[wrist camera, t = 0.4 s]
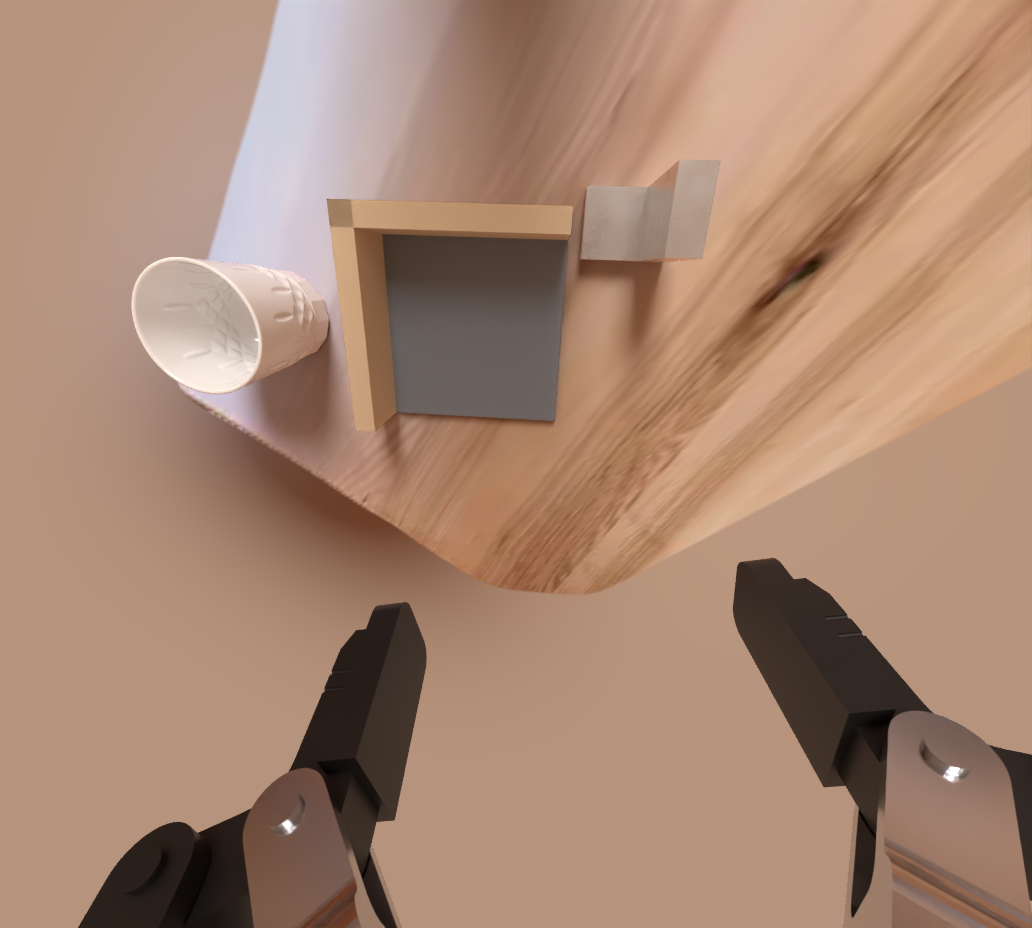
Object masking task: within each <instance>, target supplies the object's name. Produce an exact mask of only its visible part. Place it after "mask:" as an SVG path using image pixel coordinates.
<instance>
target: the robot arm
mask: <svg viewBox="0 0 1032 928" xmlns="http://www.w3.org/2000/svg"><path fill="white" fill-rule="evenodd" d="M733 614H734V619H735V623H736V626H737V629H738V632H739V634H740V636H741V638H742V640H743V641H744V643H745V645H746V647H747V649H748V650H749V652H750V654H751V656H752V658H753V659H754V661H755V663H756V665H757V667H758V668H759V670H760V672H761V674H762V676H763V678H764V679H765V681H766V683H767V685H768V687H769V688H770V690H771V692H772V694H773V696H774V698H775V699H776V701H777V703H778V705H779V706H780V709H781V710H782V712H783V714H784V716H785V718H786V719H787V721H788V723H789V725H790V727H791V728H792V730H793V732H794V734H795V735H796V738H797V739H798V741H799V743H800V745H801V747H802V749H803V750H804V752H805V754H806V755H807V758H808V759H809V761H810V763H811V765H812V767H813V768H814V770H815V772H816V774H817V776H818V777H819V779H820V781H821V783H822V785H823V787H834V786H846V787H847V789H848V791H849V792H850V794H851V796H852V798H853V799H854V801H855V803H856V805H855V808H854V816H853V827H852V839H851V850H850V861H849V872H848V883H847V895H846V906H845V916H844V924H843V928H1032V912H1031V906H1030V900H1031V901H1032V755H1030V754H1026V753H1021V752H1015V751H1011V750H1006V749H1002V748H997V747H994V746H991V745H988V744H986V743H985V742H984V741H983V740H982V739H981V738H980V737H978V736H977V735H976V734H974V733H973V732H971V731H970V730H968V729H967V728H965V727H964V726H962V725H960V724H958V723H956V722H954V721H952V720H950V719H948V718H946V717H943V716H940V715H937V714H934V713H933V712H932V711H930V710H929V709H928V708H927V706H926V705H925V704H924V703H923V702H922V701H921V700H920V699H919V698H918V696H917V695H916V694H915V693H914V692H913V691H912V689H911V688H910V687H909V686H908V685H907V684H906V682H905V681H904V680H903V679H902V678H901V677H900V675H899V674H898V673H897V672H896V671H895V670H894V669H893V667H892V666H891V665H890V664H889V663H888V661H887V660H886V659H885V658H884V657H883V656H882V655H881V653H880V652H879V651H878V650H877V649H876V647H875V646H874V645H873V644H872V643H871V642H870V640H869V639H868V638H867V637H866V636H863V635H862V631H861V630H860V629H859V628H858V626H857V625H856V624H855V623H854V622H853V621H852V620H851V619H849V618H848V617H847V614H846V612H845V611H844V610H843V609H842V608H841V607H840V605H838V603H837V602H836V601H835V600H834V598H833V597H832V596H831V595H830V594H829V593H827V592H826V591H824V590H823V589H821V588H820V587H818V586H817V585H815V584H814V583H812V582H811V581H809V580H807V579H806V578H802V579H793V578H792V577H791V575H790V574H789V573H788V571H787V570H786V569H785V568H784V566H783V565H782V564H781V563H780V562H779V561H778V560H777V559H775V558H770V559H761V560H753V561H745V562H740V563H739V564H738V567H737V575H736V583H735V593H734V603H733ZM425 669H426V647H425V643H424V640H423V637H422V635H421V632H420V629H419V627H418V625H417V622H416V619H415V617H414V614H413V612H412V609H411V607H410V605H409V604H408V603H407V602H403V603H395V604H387V605H379V606H376V607H375V608H374V610H373V612H372V615H371V617H370V620H369V623H368V625H367V628H366V629H364V630H356V631H355V632H354V634H353V635H352V636H351V637H350V638H349V640H348V641H347V642H346V643H345V645H344V646H343V647H342V648H341V649H340V652H339V654H338V657H337V659H336V662H335V664H334V666H333V669H332V675H330V676H329V678H328V681H327V683H326V686H325V692H324V693H322V695H321V698H320V700H319V702H318V705H317V707H316V710H315V712H314V715H313V717H312V719H311V722H310V724H309V726H308V729H307V731H306V734H305V736H304V739H303V741H302V743H301V746H300V748H299V751H298V753H297V756H296V758H295V760H294V762H293V765H292V767H291V768H290V770H289V772H288V773H286V774H284V775H282V776H281V777H279V778H278V779H277V780H275V781H274V782H273V783H272V784H271V785H270V786H269V787H268V788H266V789H265V791H264V792H263V793H262V794H261V795H260V797H259V798H258V799H257V801H256V802H255V804H254V805H253V807H252V808H251V809H249V810H247V811H245V812H243V813H241V814H239V815H237V816H235V817H232V818H230V819H228V820H226V821H223V822H221V823H219V824H217V825H214V826H212V827H210V828H208V829H206V830H204V831H201V832H199V833H197V832H196V831H195V830H193V829H192V828H191V827H190V826H189V825H187V824H186V823H182V822H173V823H169V824H166V825H163V826H161V827H159V828H157V829H155V830H153V831H152V832H151V833H149V834H147V835H146V836H145V837H143V838H142V839H141V840H140V841H138V842H137V843H136V844H135V845H134V846H133V847H132V848H131V849H130V850H129V851H128V852H127V853H126V854H125V855H124V856H123V857H122V858H121V860H120V861H119V862H118V863H117V865H116V866H115V867H114V869H113V870H112V871H111V873H110V875H109V876H108V878H107V879H106V881H105V883H104V885H103V886H102V888H101V890H100V891H99V893H98V895H97V896H96V898H95V900H94V901H93V903H92V905H91V907H90V908H89V910H88V912H87V914H86V915H85V917H84V919H83V920H82V922H81V924H80V925H79V927H78V928H402V927H401V924H400V921H399V918H398V916H397V913H396V910H395V908H394V905H393V902H392V899H391V896H390V894H389V891H388V888H387V886H386V883H385V880H384V877H383V875H382V872H381V869H380V867H379V864H378V861H377V858H376V855H375V853H374V850H373V848H372V845H371V843H372V838H373V834H374V830H375V826H376V822H380V821H392V820H395V816H396V811H397V806H398V801H399V796H400V791H401V786H402V781H403V777H404V772H405V766H406V762H407V757H408V752H409V747H410V742H411V738H412V733H413V728H414V723H415V718H416V713H417V708H418V703H419V699H420V693H421V689H422V683H423V679H424V674H425Z"/></svg>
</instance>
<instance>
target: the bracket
mask: <svg viewBox="0 0 1032 928" xmlns="http://www.w3.org/2000/svg"><path fill="white" fill-rule="evenodd" d="M719 166H720V161H706V160H679V161H678V162H677V163H676V164H674V165H673V166H672V167H671V168H670V169H669V170H668V171H666V172H665V173H664V174H663V175H662V176H661V177H660V178H658V179H657V180H656V181H655V182H654V183H653V184H652V185H650V186H649V187H624V186H587V188H586V193H585V205H584V217H583V229H582V240H581V252H580V260H606V261H635V262H673V261H684V260H694V259H702V256H703V251H704V246H705V241H706V235H707V230H708V225H709V219H710V214H711V209H712V203H713V198H714V193H715V188H716V182H717V177H718V172H719Z"/></svg>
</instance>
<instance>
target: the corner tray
mask: <svg viewBox="0 0 1032 928" xmlns="http://www.w3.org/2000/svg"><path fill="white" fill-rule="evenodd" d="M327 205H328V213H329V221H330V229H331V237H332V245H333V253H334V261H335V269H336V277H337V285H338V293H339V302H340V310H341V318H342V326H343V334H344V342H345V350H346V358H347V366H348V374H349V382H350V390H351V398H352V406H353V414H354V422H355V430H356V431H369V432H375V431H377V430H378V429H379V428H380V427H381V426H382V425H383V424H384V423H385V422H387V421H388V420H389V419H390V418H391V417H392V416H393V415H394V414H395V413H397V412H400V413H419V414H437V415H455V416H473V417H492V418H510V419H528V420H546V421H555V410H556V396H557V383H558V369H559V355H560V342H561V328H562V314H563V301H564V287H565V273H566V259H567V246H568V239H569V237H570V235H571V226H572V213H573V206H561V205H525V204H489V203H453V202H418V201H382V200H346V199H327Z"/></svg>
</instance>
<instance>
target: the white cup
mask: <svg viewBox="0 0 1032 928" xmlns="http://www.w3.org/2000/svg"><path fill="white" fill-rule="evenodd" d="M131 303H132V305H131V307H132V317H133V322H134V325H135V328H136V331H137V334H138V336H139V339H140V341H141V342H142V344H143V346H144V348H145V349H146V351H147V352H148V354H149V355H150V357H151V358H152V359H153V361H155V363H156V364H157V365H158V366H159V367H160V368H161V369H162V370H163V371H164V372H165V373H166V374H168V375H169V376H170V377H171V378H173V379H174V380H176V381H177V382H179V383H181V384H182V385H184V386H186V387H188V388H191V389H193V390H196V391H199V392H203V393H208V394H226V393H230V392H234V391H236V390H238V389H241V388H243V387H245V386H247V385H249V384H252V383H254V382H256V381H258V380H260V379H263V378H265V377H267V376H269V375H271V374H274V373H276V372H278V371H280V370H283V369H285V368H287V367H288V366H290V365H292V364H295V363H296V362H297V361H299V360H300V359H301V358H303V357H305V356H308V355H310V354H312V353H315V352H317V350H318V349H319V348H320V346H321V345H322V344H323V342H324V341H325V340H326V338H327V331H328V324H329V318H328V314H327V311H326V307H325V304H324V300H323V299H322V297H321V296H320V295H319V294H318V292H317V291H316V290H315V288H314V287H313V286H312V284H311V283H310V282H308V281H307V280H305V279H303V278H302V277H300V276H298V275H297V274H295V273H293V272H291V271H281V270H273V269H268V268H265V267H263V266H255V265H249V264H239V263H230V262H222V261H212V260H203V259H193V258H185V257H170V258H165V259H161V260H158V261H156V262H154V263H152V264H151V265H149V266H148V267H147V268H146V269H145V270H144V271H143V272H142V273H141V274H140V276H139V277H138V279H137V281H136V283H135V286H134V290H133V294H132V302H131Z"/></svg>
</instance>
